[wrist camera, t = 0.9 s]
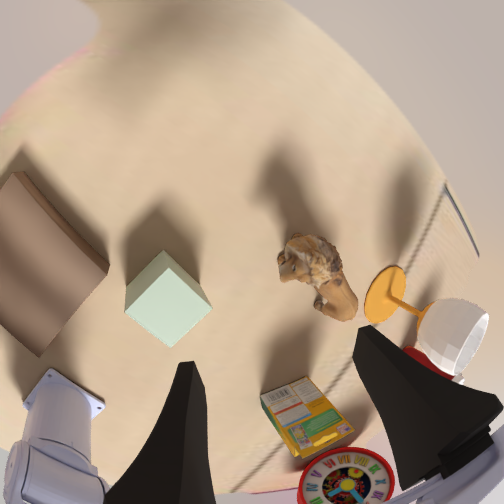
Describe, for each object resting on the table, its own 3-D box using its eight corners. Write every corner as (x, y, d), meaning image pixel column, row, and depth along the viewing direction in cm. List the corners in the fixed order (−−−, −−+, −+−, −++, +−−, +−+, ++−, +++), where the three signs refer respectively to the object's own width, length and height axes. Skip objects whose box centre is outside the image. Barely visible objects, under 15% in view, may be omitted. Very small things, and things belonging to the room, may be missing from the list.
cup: (411, 268, 39) (496, 308, 25) (392, 321, 41) (467, 370, 26) (376, 262, 35) (477, 310, 21) (355, 324, 37) (440, 386, 23)
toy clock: (360, 433, 51) (412, 486, 33) (355, 445, 53) (403, 496, 35) (281, 471, 44) (329, 540, 27) (281, 481, 46) (324, 545, 28)
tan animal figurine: (241, 250, 27) (286, 285, 19) (276, 207, 27) (333, 226, 20) (324, 317, 34) (371, 354, 26) (350, 283, 34) (402, 314, 26)
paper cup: (383, 376, 45) (433, 417, 33) (401, 341, 44) (457, 379, 32) (403, 372, 49) (449, 407, 36) (420, 340, 47) (471, 373, 35)
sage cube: (164, 319, 26) (170, 347, 22) (126, 286, 24) (124, 312, 20) (199, 284, 27) (212, 308, 22) (163, 249, 25) (168, 267, 20)
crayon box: (261, 407, 35) (301, 468, 25) (259, 394, 34) (301, 458, 24) (307, 388, 37) (353, 441, 27) (307, 375, 36) (356, 429, 26)
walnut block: (45, 341, 22) (39, 357, 20) (-31, 263, 17) (-45, 274, 14) (110, 263, 23) (107, 275, 21) (25, 171, 18) (12, 172, 15)
